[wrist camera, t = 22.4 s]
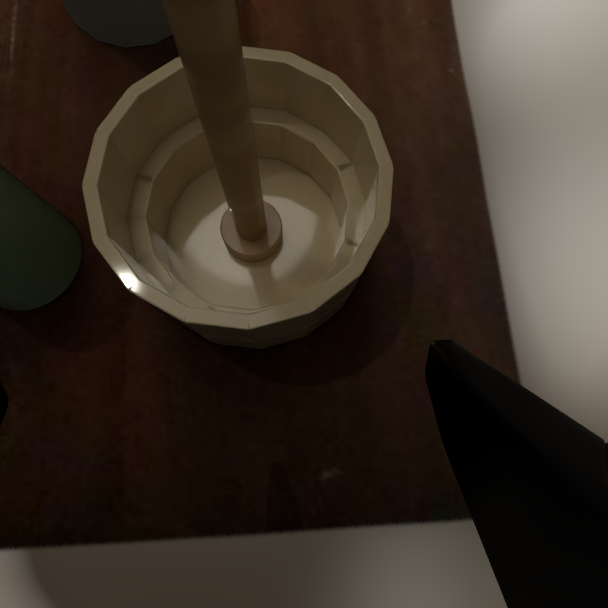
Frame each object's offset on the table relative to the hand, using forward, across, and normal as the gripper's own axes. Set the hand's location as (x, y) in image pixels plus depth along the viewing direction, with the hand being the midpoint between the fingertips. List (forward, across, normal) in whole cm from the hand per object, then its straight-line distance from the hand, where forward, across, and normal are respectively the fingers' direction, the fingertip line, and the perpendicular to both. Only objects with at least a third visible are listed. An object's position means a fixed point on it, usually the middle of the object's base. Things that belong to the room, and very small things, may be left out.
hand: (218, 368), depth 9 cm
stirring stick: (+15, 0, +3) cm, 15 cm away
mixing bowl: (+15, 0, +4) cm, 16 cm away
